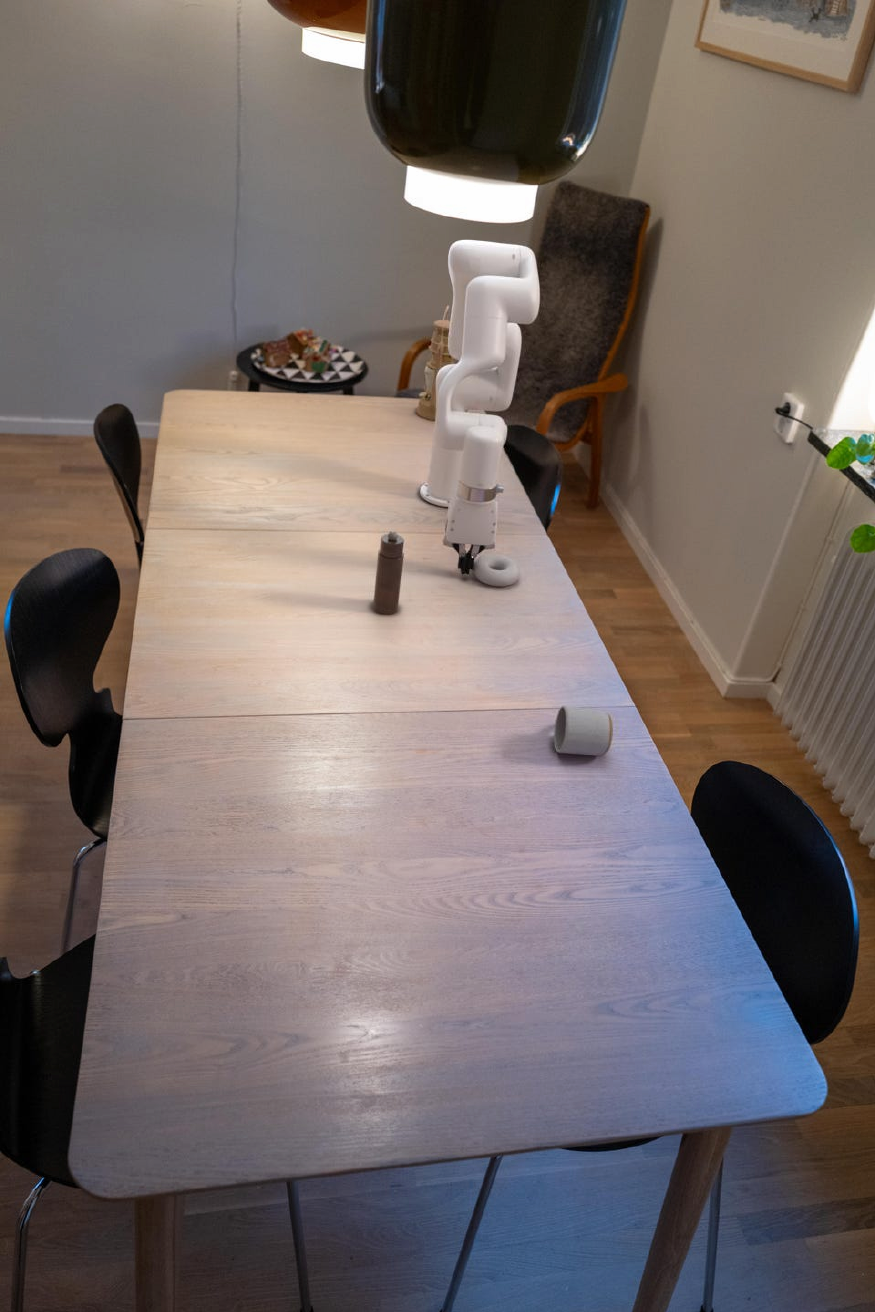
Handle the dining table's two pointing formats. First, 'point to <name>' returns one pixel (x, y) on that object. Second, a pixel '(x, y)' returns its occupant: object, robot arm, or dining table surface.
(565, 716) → the ceramic mug
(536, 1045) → the dining table surface
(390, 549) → the pepper mill
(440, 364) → the lantern
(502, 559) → the donut
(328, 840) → the dining table surface
